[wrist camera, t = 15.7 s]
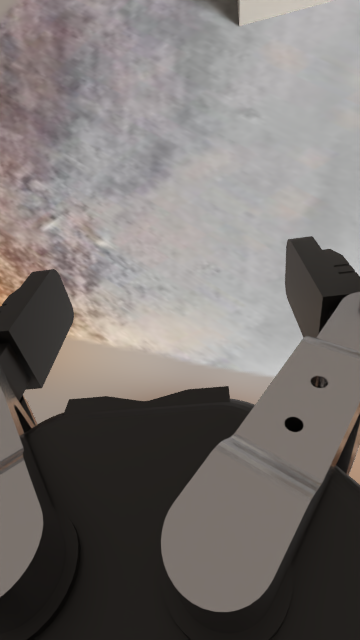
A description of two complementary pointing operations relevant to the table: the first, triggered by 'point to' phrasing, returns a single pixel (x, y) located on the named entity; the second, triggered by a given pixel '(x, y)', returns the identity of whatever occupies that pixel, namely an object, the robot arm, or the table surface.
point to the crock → (271, 8)
